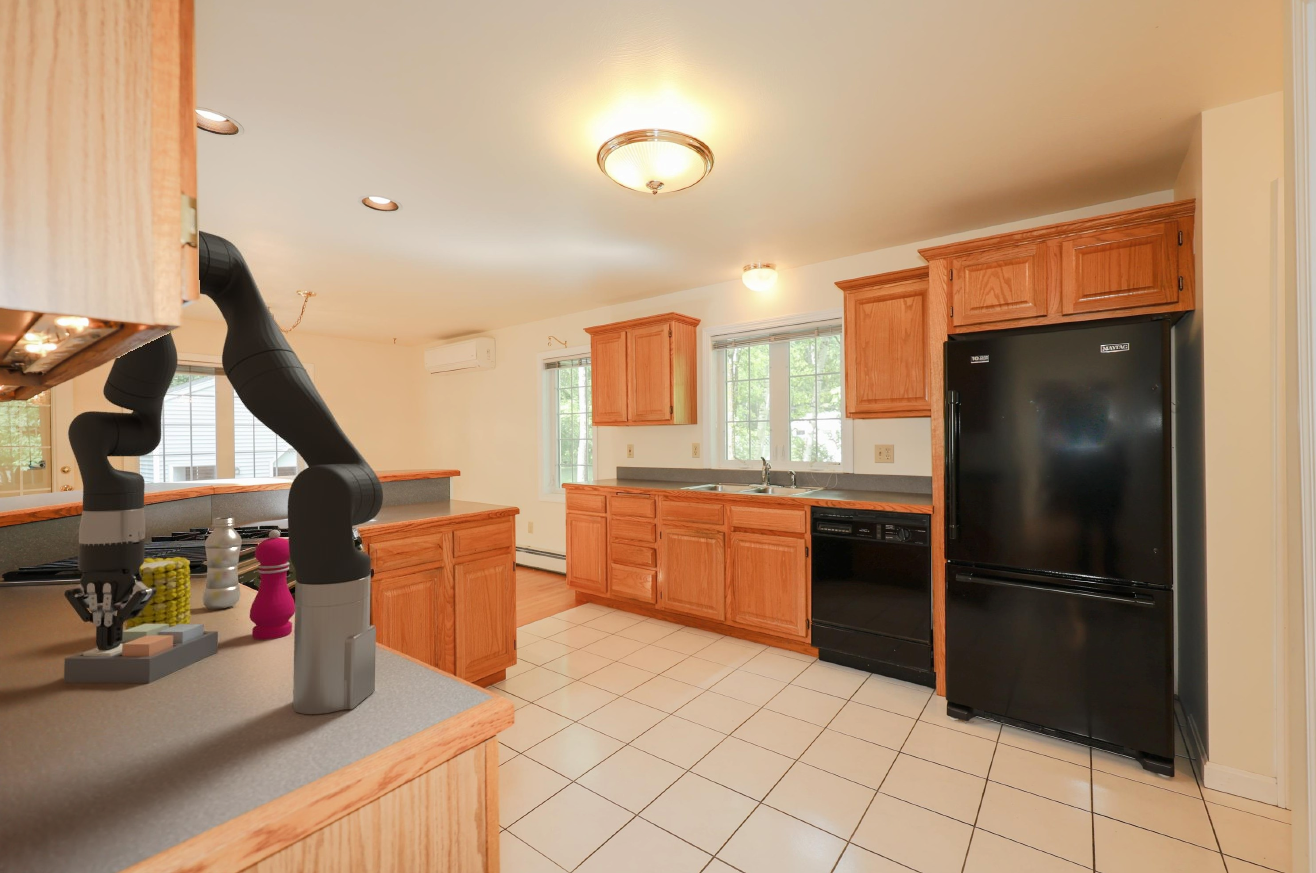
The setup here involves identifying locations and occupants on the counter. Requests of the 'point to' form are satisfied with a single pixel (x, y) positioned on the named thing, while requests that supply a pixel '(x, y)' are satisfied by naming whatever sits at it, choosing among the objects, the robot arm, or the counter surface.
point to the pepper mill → (272, 590)
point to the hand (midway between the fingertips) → (109, 648)
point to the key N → (104, 652)
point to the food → (165, 592)
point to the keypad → (139, 663)
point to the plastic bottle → (222, 565)
